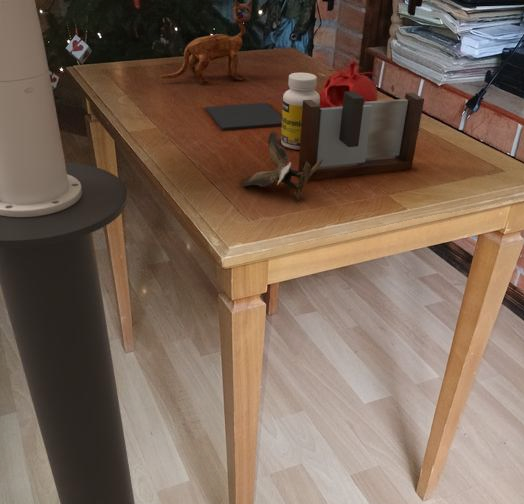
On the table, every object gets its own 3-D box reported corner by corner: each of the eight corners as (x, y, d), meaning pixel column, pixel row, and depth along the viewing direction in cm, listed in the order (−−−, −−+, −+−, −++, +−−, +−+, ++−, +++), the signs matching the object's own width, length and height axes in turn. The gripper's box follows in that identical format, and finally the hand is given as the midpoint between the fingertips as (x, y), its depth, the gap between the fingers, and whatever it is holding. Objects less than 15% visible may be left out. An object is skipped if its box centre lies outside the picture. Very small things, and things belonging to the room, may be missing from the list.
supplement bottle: (273, 143, 93) (276, 75, 87) (297, 135, 96) (301, 68, 90) (299, 153, 90) (304, 83, 84) (323, 145, 93) (329, 76, 87)
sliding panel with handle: (325, 175, 80) (332, 100, 74) (314, 165, 83) (320, 91, 77) (374, 170, 82) (385, 96, 76) (362, 160, 85) (372, 88, 79)
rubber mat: (222, 130, 97) (222, 127, 97) (205, 109, 105) (205, 106, 105) (287, 125, 100) (288, 122, 100) (266, 105, 108) (266, 102, 108)
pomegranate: (359, 108, 108) (366, 50, 102) (385, 126, 101) (394, 65, 95) (307, 112, 106) (311, 53, 100) (330, 131, 98) (336, 69, 92)
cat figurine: (165, 88, 114) (159, 5, 106) (156, 79, 119) (150, -2, 111) (255, 81, 120) (257, 1, 111) (243, 73, 125) (244, -5, 116)
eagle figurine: (326, 178, 80) (273, 149, 83) (320, 143, 73) (263, 113, 77) (291, 222, 79) (238, 190, 82) (281, 190, 72) (225, 157, 76)
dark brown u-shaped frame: (305, 180, 82) (311, 107, 76) (297, 172, 84) (302, 100, 79) (411, 169, 86) (424, 98, 81) (401, 161, 89) (413, 92, 83)
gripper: (306, -181, 61) (296, 13, 72) (484, -176, 60) (446, 21, 70) (311, -176, 67) (301, 2, 78) (473, -171, 66) (440, 10, 76)
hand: (370, 11), depth 74 cm, fingers open, 9 cm apart
